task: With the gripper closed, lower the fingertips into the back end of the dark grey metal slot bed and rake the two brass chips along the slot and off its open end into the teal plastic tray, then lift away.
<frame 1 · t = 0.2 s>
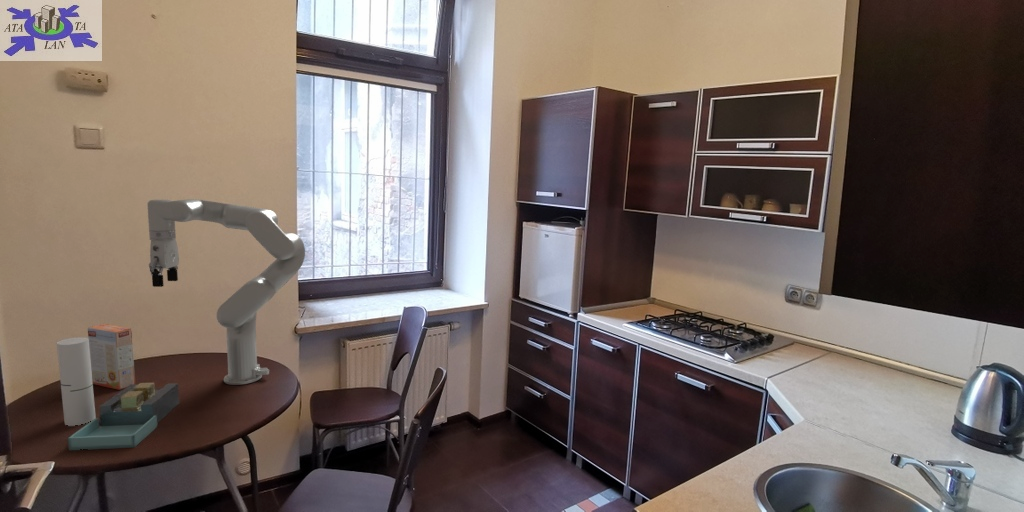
hand: (165, 283, 179), 36 cm above the table, tool pointing down, fingers open, 9 cm apart
chip tray: (115, 437, 144), on the table
cracker box: (114, 384, 180), on the table
back chip: (144, 397, 159), point 5 cm above the table, touching slot bed
cylindrical container: (80, 421, 153), on the table
front chip: (133, 406, 153), point 5 cm above the table, touching slot bed
slot bed: (142, 415, 158), on the table
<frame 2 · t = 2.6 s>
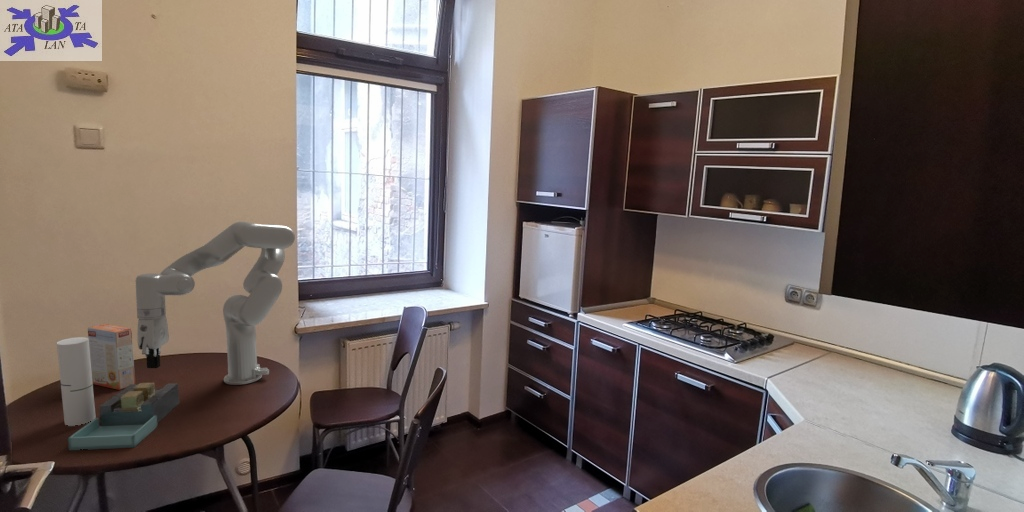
hand: (153, 367, 165), 12 cm above the table, tool pointing down, fingers closed
nothing on the table moved.
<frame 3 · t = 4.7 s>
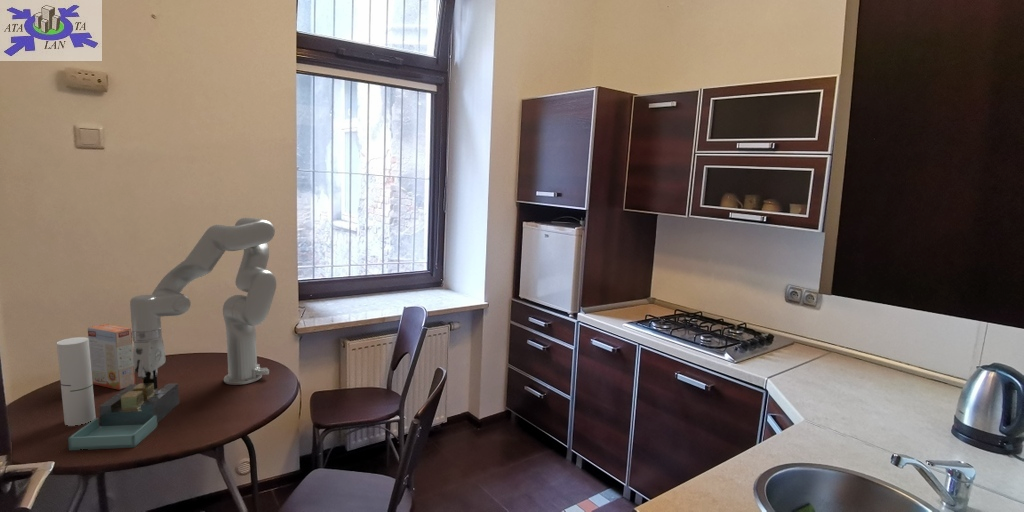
hand: (150, 389, 163), 6 cm above the table, tool pointing down, fingers closed
back chip: (144, 397, 159), point 5 cm above the table, touching gripper
everything else where it was.
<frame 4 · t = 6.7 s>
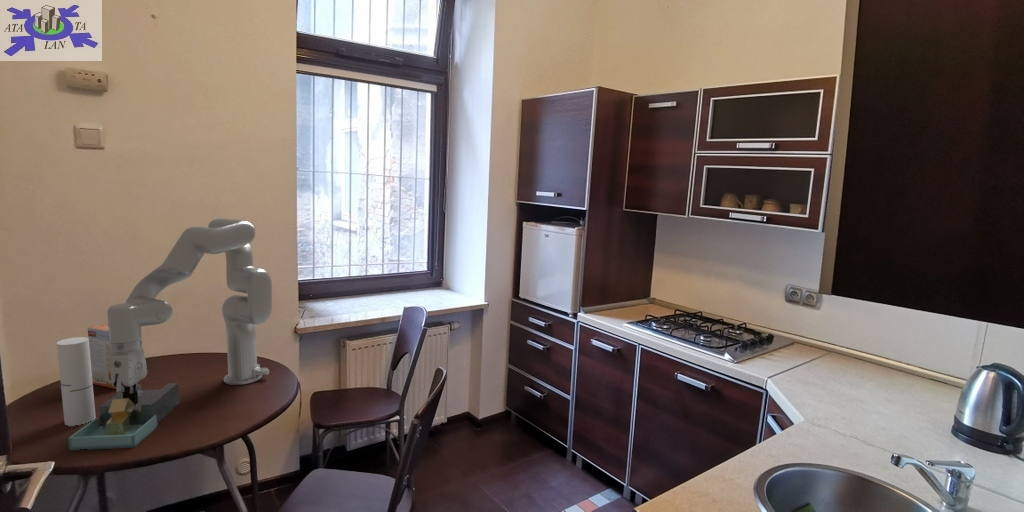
hand: (130, 404, 152), 6 cm above the table, tool pointing down, fingers closed
back chip: (124, 411, 149), point 5 cm above the table, tilted 41°, touching front chip, gripper
front chip: (121, 421, 147), point 3 cm above the table, tilted 95°, touching back chip, chip tray
everything else where it was.
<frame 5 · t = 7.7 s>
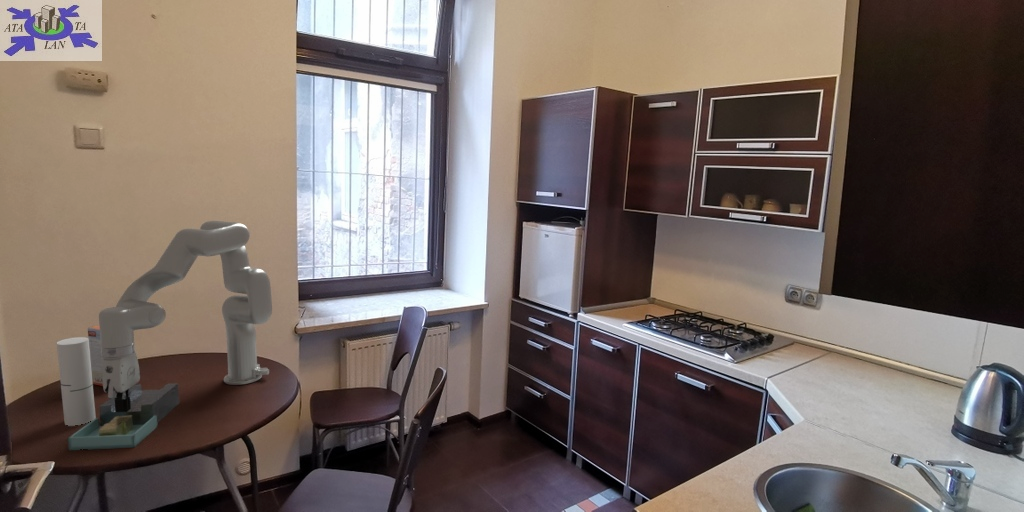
hand: (123, 410, 148), 6 cm above the table, tool pointing down, fingers closed
back chip: (117, 428, 144), point 3 cm above the table, tilted 90°, touching chip tray
front chip: (110, 425, 141), point 5 cm above the table, tilted 180°, touching chip tray
everything else where it was.
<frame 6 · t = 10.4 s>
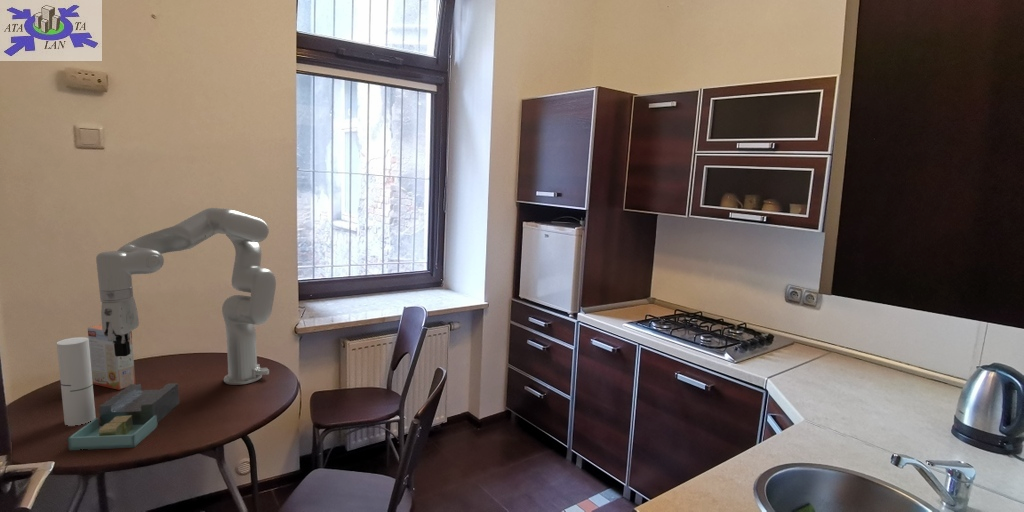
hand: (122, 355, 149), 22 cm above the table, tool pointing down, fingers closed
nothing on the table moved.
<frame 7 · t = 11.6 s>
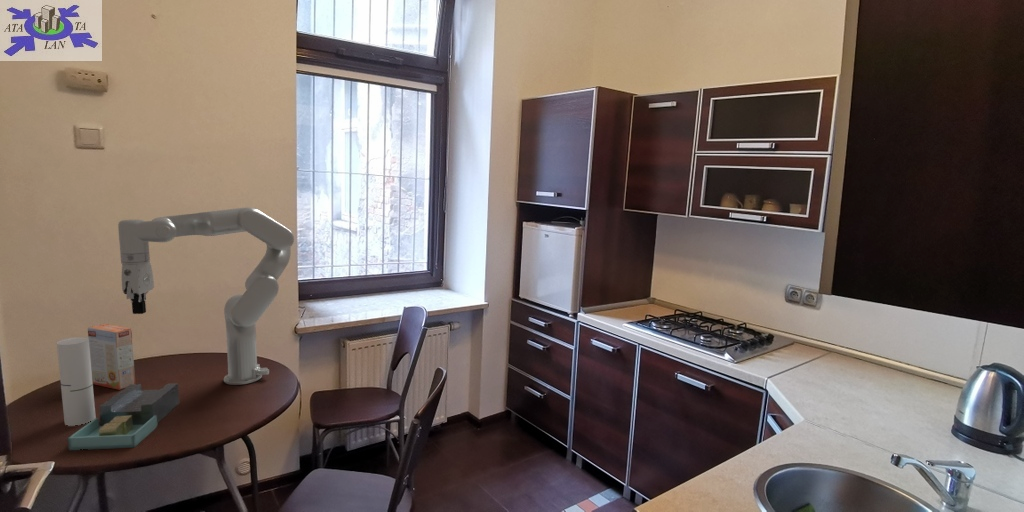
hand: (139, 313, 166), 29 cm above the table, tool pointing down, fingers closed
nothing on the table moved.
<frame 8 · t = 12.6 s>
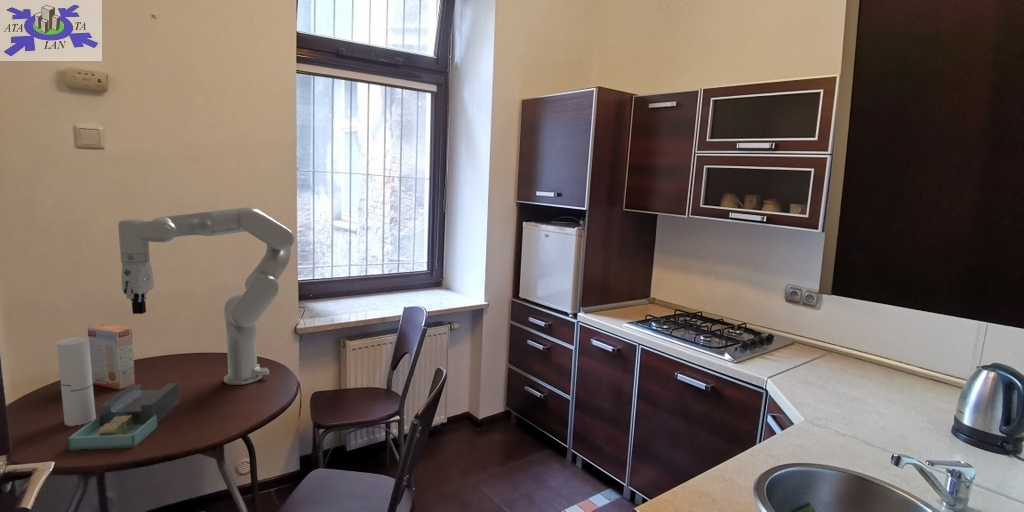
hand: (139, 313, 166), 29 cm above the table, tool pointing down, fingers closed
nothing on the table moved.
at the end: back chip inside the target area on the chip tray (1.1 cm from its centre), point 2.8 cm above the chip tray's base; front chip inside the target area on the chip tray (2.8 cm from its centre), point 4.8 cm above the chip tray's base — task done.
